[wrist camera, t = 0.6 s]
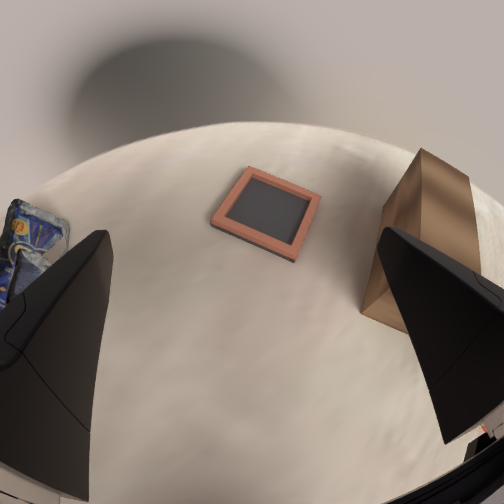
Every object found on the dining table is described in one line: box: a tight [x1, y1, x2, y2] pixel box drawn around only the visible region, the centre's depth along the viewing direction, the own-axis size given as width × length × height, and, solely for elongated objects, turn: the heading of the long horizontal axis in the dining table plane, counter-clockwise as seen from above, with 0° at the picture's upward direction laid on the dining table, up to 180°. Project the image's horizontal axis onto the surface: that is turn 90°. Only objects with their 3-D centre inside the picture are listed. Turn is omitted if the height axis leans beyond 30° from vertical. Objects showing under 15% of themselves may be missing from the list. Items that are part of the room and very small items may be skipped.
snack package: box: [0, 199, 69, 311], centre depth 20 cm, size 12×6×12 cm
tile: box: [211, 166, 321, 263], centre depth 29 cm, size 8×8×1 cm
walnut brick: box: [361, 148, 481, 335], centre depth 25 cm, size 14×6×9 cm, turn 157°
